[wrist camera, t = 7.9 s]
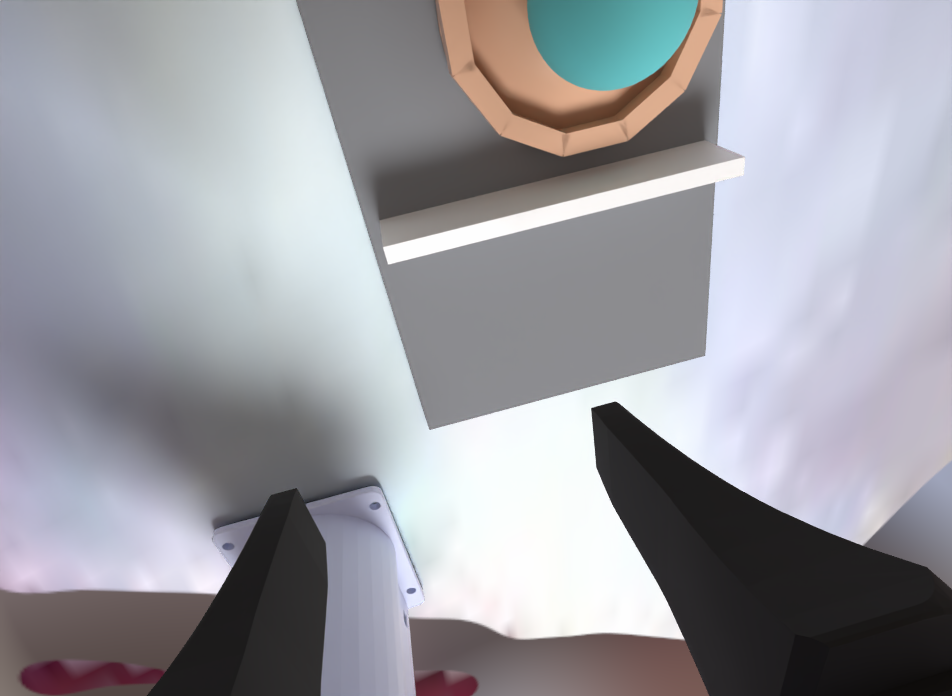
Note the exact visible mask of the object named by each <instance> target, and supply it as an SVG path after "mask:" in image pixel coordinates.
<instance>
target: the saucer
mask: <svg viewBox="0 0 952 696" xmlns="http://www.w3.org/2000/svg"><path fill="white" fill-rule="evenodd" d="M435 2H436V13H437V20H438V28H439V33H440V37H441V41H442V45H443V49H444V52H445V55H446V60H447V65H448V70H449V73H450V75H451V77H452V78H453V79H454V80H455V82H456V83H457V84H458V85H459V87H460V88H461V89H462V90H463V92H464V93H465V94H466V96H467V97H468V98H469V100H470V101H471V102H472V103H473V104H474V106H475V107H476V108H477V109H478V110H479V111H480V113H481V114H482V115H483V116H484V118H485V119H486V120H487V121H488V123H489V124H490V125H491V126H492V128H493V129H494V130H495V131H496V132H497V133H498V134H499V135H500V136H503V137H506V138H509V139H511V140H514V141H517V142H520V143H523V144H526V145H529V146H532V147H535V148H538V149H541V150H544V151H547V152H550V153H553V154H556V155H559V156H561V157H562V156H563V157H565V156H569V155H573V154H577V153H581V152H585V151H589V150H594V149H598V148H602V147H606V146H610V145H614V144H618V143H622V142H626V141H628V140H630V139H631V138H632V137H633V136H635V135H636V134H637V133H638V132H639V131H640V130H641V129H643V128H644V127H645V126H646V125H647V124H648V123H649V122H651V121H652V120H653V119H654V118H655V117H656V116H657V115H658V114H660V113H661V112H662V111H663V110H664V109H665V108H666V107H668V106H669V105H670V104H671V103H672V102H673V101H674V100H676V99H677V98H678V97H679V96H680V95H681V94H682V93H684V92H685V91H684V90H686V88H687V86H688V84H689V82H690V80H691V78H692V76H693V74H694V72H695V69H696V67H697V65H698V63H699V61H700V59H701V57H702V55H703V53H704V51H705V48H706V46H707V44H708V42H709V40H710V38H711V36H712V34H713V32H714V30H715V28H716V25H717V23H718V21H719V19H720V17H721V15H722V14H720V13H722V7H723V0H698V5H697V8H696V12H695V16H694V18H693V21H692V23H691V26H690V28H689V30H688V32H687V34H686V36H685V38H684V40H683V41H682V43H681V44H680V46H679V47H678V49H677V50H676V51H675V53H674V54H673V55H672V56H671V58H670V59H669V60H668V61H667V62H666V63H665V64H664V65H663V66H662V67H661V68H659V69H658V70H657V71H656V72H655V73H653V74H652V75H650V76H648V77H647V78H645V79H644V80H642V81H640V82H638V83H636V84H634V85H631V86H628V87H625V88H621V89H616V90H611V91H597V90H589V89H585V88H581V87H578V86H576V85H574V84H572V83H569V82H568V81H566V80H564V79H563V78H561V77H560V76H558V75H557V74H556V73H555V72H554V71H553V70H552V69H551V68H550V67H549V66H548V64H547V63H546V62H545V61H544V59H543V58H542V56H541V54H540V53H539V51H538V49H537V47H536V45H535V43H534V40H533V37H532V34H531V31H530V27H529V21H528V12H527V0H435Z"/></svg>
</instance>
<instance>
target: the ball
mask: <svg viewBox="0 0 952 696" xmlns="http://www.w3.org/2000/svg"><path fill="white" fill-rule="evenodd" d="M697 5H698V0H527V12H528V21H529V27H530V31H531V34H532V37H533V40H534V43H535V45H536V47H537V49H538V51H539V53H540V54H541V56H542V58H543V59H544V61H545V62H546V63H547V64H548V66H549V67H550V68H551V69H552V70H553V71H554V72H555V73H556V74H557V75H558V76H560V77H561V78H563V79H564V80H566V81H568V82H569V83H572V84H574V85H576V86H578V87H581V88H585V89H589V90H597V91H611V90H616V89H621V88H625V87H628V86H631V85H634V84H636V83H638V82H640V81H642V80H644V79H645V78H647V77H648V76H650V75H652V74H653V73H655V72H656V71H657V70H658V69H659V68H661V67H662V66H663V65H664V64H665V63H666V62H667V61H668V60H669V59H670V58H671V56H672V55H673V54H674V53H675V51H676V50H677V49H678V47H679V46H680V44H681V43H682V41H683V40H684V38H685V36H686V34H687V32H688V30H689V28H690V26H691V23H692V21H693V18H694V16H695V12H696V8H697Z"/></svg>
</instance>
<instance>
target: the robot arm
mask: <svg viewBox="0 0 952 696" xmlns="http://www.w3.org/2000/svg"><path fill="white" fill-rule="evenodd" d="M591 411H592V422H593V433H594V445H595V456H596V467H597V470H598V472H599V475H600V477H601V479H602V482H603V484H604V487H605V489H606V491H607V493H608V496H609V498H610V500H611V503H612V505H613V507H614V508H615V510H616V512H617V514H618V515H619V517H620V519H621V521H622V522H623V524H624V526H625V528H626V529H627V531H628V533H629V535H630V536H631V538H632V540H633V541H634V543H635V545H636V547H637V548H638V550H639V552H640V554H641V555H642V557H643V559H644V560H645V562H646V564H647V566H648V567H649V569H650V571H651V573H652V574H653V576H654V578H655V579H656V581H657V583H658V585H659V587H660V589H661V590H662V592H663V594H664V596H665V598H666V600H667V602H668V604H669V606H670V608H671V611H672V613H673V615H674V617H675V619H676V622H677V624H678V626H679V628H680V630H681V632H682V635H683V637H684V639H685V641H686V643H687V646H688V648H689V650H690V653H691V655H692V657H693V659H694V662H695V664H696V666H697V668H698V671H699V673H700V675H701V677H702V680H703V682H704V684H705V686H706V689H707V691H708V694H709V696H952V589H951V588H950V587H949V586H947V584H945V583H944V582H943V581H942V580H941V579H940V578H938V577H937V576H936V575H935V574H934V573H933V572H932V571H930V570H929V569H928V568H927V567H924V566H921V565H918V564H915V563H912V562H909V561H906V560H903V559H900V558H897V557H894V556H891V555H888V554H885V553H882V552H879V551H876V550H873V549H870V548H867V547H864V546H862V545H859V544H856V543H854V542H851V541H849V540H846V539H844V538H841V537H838V536H836V535H833V534H831V533H828V532H826V531H824V530H821V529H819V528H816V527H814V526H812V525H810V524H808V523H805V522H803V521H801V520H799V519H797V518H794V517H792V516H790V515H788V514H786V513H783V512H781V511H779V510H777V509H775V508H773V507H771V506H769V505H767V504H765V503H763V502H761V501H759V500H758V499H756V498H754V497H752V496H750V495H748V494H747V493H745V492H743V491H741V490H739V489H738V488H736V487H734V486H733V485H731V484H729V483H728V482H726V481H724V480H723V479H721V478H719V477H718V476H716V475H715V474H713V473H712V472H710V471H708V470H707V469H705V468H704V467H702V466H701V465H699V464H698V463H696V462H695V461H693V460H692V459H690V458H689V457H687V456H686V455H685V454H683V453H682V452H681V451H679V450H678V449H676V448H675V447H674V446H672V445H671V444H669V443H668V442H667V441H665V440H664V439H663V438H661V437H660V436H659V435H657V434H656V433H655V432H654V431H652V430H651V429H650V428H648V427H647V426H646V425H645V424H643V423H642V422H641V421H640V420H638V419H637V418H636V417H635V416H633V415H632V414H631V413H630V412H629V411H627V410H626V409H625V408H624V407H623V406H621V405H620V404H619V403H617V402H612V403H608V404H605V405H601V406H597V407H594V408H591ZM373 502H378V503H376V504H372V503H373ZM212 540H213V543H214V544H215V545H216V547H217V548H218V550H219V551H220V552H221V554H222V555H223V557H224V558H225V559H226V561H227V562H228V564H229V565H230V566H231V568H232V569H231V571H230V573H229V575H228V577H227V578H226V580H225V582H224V584H223V585H222V587H221V589H220V590H219V592H218V594H217V595H216V597H215V599H214V600H213V602H212V603H211V605H210V607H209V608H208V610H207V612H206V613H205V615H204V617H203V618H202V620H201V621H200V623H199V625H198V626H197V628H196V629H195V631H194V632H193V634H192V635H191V637H190V638H189V640H188V641H187V643H186V644H185V645H184V647H183V648H182V650H181V651H180V653H179V654H178V656H177V657H176V658H175V660H174V661H173V662H172V664H171V665H170V667H169V668H168V669H167V671H166V672H165V673H164V675H163V676H162V677H161V678H160V680H159V681H158V682H157V684H156V685H155V686H154V687H153V689H152V690H151V691H150V692H149V694H148V695H147V696H416V693H415V682H414V671H413V660H412V649H411V639H410V628H409V617H408V608H412V607H415V606H418V605H421V604H422V603H423V602H424V592H423V590H422V587H421V585H420V583H419V580H418V578H417V575H416V573H415V570H414V568H413V565H412V563H411V561H410V558H409V556H408V553H407V551H406V548H405V546H404V543H403V541H402V538H401V536H400V534H399V531H398V529H397V526H396V524H395V521H394V519H393V516H392V514H391V511H390V509H389V507H388V504H387V502H386V499H385V497H384V494H383V492H382V490H381V489H380V488H379V487H376V486H369V487H365V488H361V489H358V490H354V491H350V492H347V493H343V494H339V495H336V496H332V497H328V498H325V499H321V500H318V501H314V502H310V503H307V504H305V503H304V501H303V499H302V497H301V495H300V493H299V492H298V490H297V488H296V489H292V490H288V491H285V492H281V493H277V494H274V495H271V496H270V498H269V499H268V501H267V503H266V505H265V507H264V509H263V511H262V513H261V515H260V516H259V517H255V518H252V519H248V520H244V521H241V522H237V523H233V524H230V525H226V526H222V527H219V528H217V529H216V530H215V531H214V534H213V538H212ZM229 543H230V544H229Z"/></svg>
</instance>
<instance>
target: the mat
mask: <svg viewBox="0 0 952 696" xmlns="http://www.w3.org/2000/svg"><path fill="white" fill-rule="evenodd" d="M296 1H297V5H298V8H299V11H300V14H301V17H302V21H303V24H304V27H305V30H306V34H307V37H308V40H309V43H310V46H311V50H312V53H313V56H314V59H315V63H316V66H317V69H318V72H319V75H320V79H321V82H322V85H323V88H324V92H325V95H326V98H327V101H328V104H329V108H330V111H331V114H332V117H333V121H334V124H335V127H336V130H337V133H338V137H339V140H340V143H341V146H342V150H343V153H344V156H345V159H346V162H347V166H348V169H349V172H350V175H351V179H352V182H353V185H354V188H355V191H356V195H357V198H358V201H359V204H360V208H361V211H362V214H363V217H364V220H365V224H366V227H367V230H368V233H369V237H370V240H371V243H372V246H373V249H374V253H375V256H376V259H377V262H378V266H379V269H380V272H381V275H382V278H383V282H384V285H385V288H386V291H387V295H388V298H389V301H390V304H391V307H392V311H393V314H394V317H395V320H396V324H397V327H398V330H399V333H400V336H401V340H402V343H403V346H404V349H405V353H406V356H407V359H408V362H409V365H410V369H411V372H412V375H413V378H414V382H415V385H416V388H417V391H418V394H419V398H420V401H421V404H422V407H423V411H424V414H425V417H426V420H427V423H428V427H429V430H431V429H435V428H439V427H442V426H446V425H450V424H453V423H457V422H461V421H465V420H468V419H472V418H476V417H479V416H483V415H487V414H490V413H494V412H498V411H502V410H505V409H509V408H513V407H516V406H520V405H524V404H528V403H531V402H535V401H539V400H542V399H546V398H550V397H554V396H557V395H561V394H565V393H568V392H572V391H576V390H580V389H583V388H587V387H591V386H594V385H598V384H602V383H606V382H609V381H613V380H617V379H620V378H624V377H628V376H631V375H635V374H639V373H643V372H646V371H650V370H654V369H657V368H661V367H665V366H669V365H672V364H676V363H680V362H683V361H687V360H691V359H695V358H698V357H702V356H705V350H706V333H707V315H708V298H709V280H710V262H711V245H712V227H713V209H714V192H715V183H711V184H707V185H703V186H699V187H695V188H691V189H687V190H683V191H679V192H675V193H671V194H667V195H663V196H659V197H655V198H651V199H647V200H643V201H639V202H635V203H631V204H627V205H623V206H619V207H615V208H611V209H607V210H603V211H599V212H595V213H591V214H587V215H583V216H579V217H575V218H571V219H567V220H563V221H559V222H555V223H551V224H547V225H544V226H540V227H536V228H532V229H528V230H524V231H520V232H516V233H512V234H508V235H504V236H500V237H496V238H492V239H488V240H484V241H480V242H476V243H472V244H468V245H464V246H460V247H456V248H452V249H448V250H444V251H440V252H436V253H432V254H428V255H424V256H420V257H416V258H412V259H408V260H404V261H400V262H396V263H392V264H388V262H387V259H386V256H385V252H384V249H383V243H382V235H381V228H380V220H383V219H387V218H391V217H395V216H399V215H403V214H407V213H411V212H415V211H419V210H423V209H427V208H431V207H436V206H440V205H444V204H448V203H452V202H456V201H460V200H464V199H468V198H472V197H476V196H480V195H484V194H488V193H492V192H496V191H500V190H504V189H509V188H513V187H517V186H521V185H525V184H529V183H533V182H537V181H541V180H545V179H549V178H553V177H557V176H561V175H565V174H569V173H573V172H577V171H581V170H586V169H590V168H594V167H598V166H602V165H606V164H610V163H614V162H618V161H622V160H626V159H630V158H634V157H638V156H642V155H646V154H650V153H654V152H659V151H663V150H667V149H671V148H675V147H679V146H683V145H687V144H691V143H695V142H699V141H703V140H705V141H708V142H710V143H713V144H715V145H717V139H718V121H719V104H720V86H721V69H722V51H723V33H724V16H725V0H723V7H722V13H720V14H722V15H721V17H720V19H719V21H718V23H717V25H716V28H715V30H714V32H713V34H712V36H711V38H710V40H709V42H708V44H707V46H706V48H705V51H704V53H703V55H702V57H701V59H700V61H699V63H698V65H697V67H696V69H695V72H694V74H693V76H692V78H691V80H690V82H689V84H688V86H687V88H686V90H684V91H685V92H684V93H682V94H681V95H680V96H679V97H678V98H677V99H676V100H674V101H673V102H672V103H671V104H670V105H669V106H668V107H666V108H665V109H664V110H663V111H662V112H661V113H660V114H658V115H657V116H656V117H655V118H654V119H653V120H652V121H651V122H649V123H648V124H647V125H646V126H645V127H644V128H643V129H641V130H640V131H639V132H638V133H637V134H636V135H635V136H633V137H632V138H631V139H630V140H628V141H626V142H622V143H618V144H614V145H610V146H606V147H602V148H598V149H594V150H589V151H585V152H581V153H577V154H573V155H569V156H565V157H563V156H562V157H561V156H559V155H556V154H553V153H550V152H547V151H544V150H541V149H538V148H535V147H532V146H529V145H526V144H523V143H520V142H517V141H514V140H511V139H509V138H506V137H503V136H500V135H499V134H498V133H497V132H496V131H495V130H494V129H493V128H492V126H491V125H490V124H489V123H488V121H487V120H486V119H485V118H484V116H483V115H482V114H481V113H480V111H479V110H478V109H477V108H476V107H475V106H474V104H473V103H472V102H471V101H470V100H469V98H468V97H467V96H466V94H465V93H464V92H463V90H462V89H461V88H460V87H459V85H458V84H457V83H456V82H455V80H454V79H453V78H452V77H451V75H450V73H449V70H448V65H447V60H446V55H445V52H444V49H443V45H442V41H441V37H440V33H439V28H438V20H437V13H436V2H435V0H296Z"/></svg>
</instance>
